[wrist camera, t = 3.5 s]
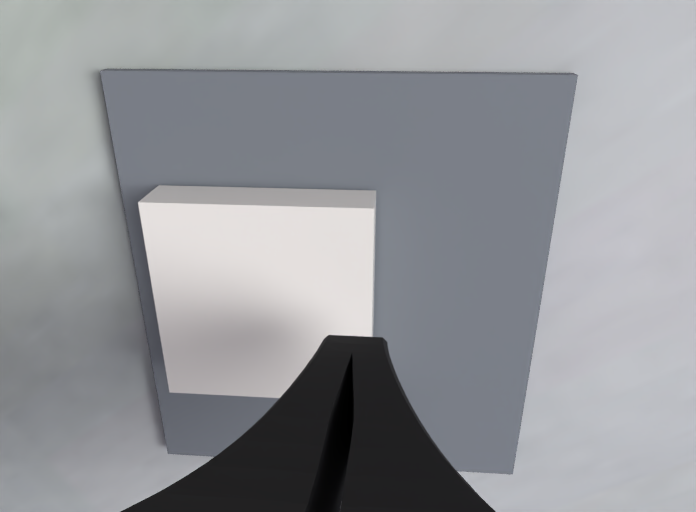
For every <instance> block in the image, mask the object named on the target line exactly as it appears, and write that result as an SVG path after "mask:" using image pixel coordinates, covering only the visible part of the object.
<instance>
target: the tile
mask: <svg viewBox="0 0 696 512" xmlns="http://www.w3.org/2000/svg"><path fill="white" fill-rule="evenodd" d="M138 206H139V212H140V218H141V224H142V230H143V236H144V242H145V248H146V254H147V260H148V266H149V272H150V278H151V284H152V290H153V296H154V302H155V308H156V314H157V320H158V326H159V332H160V338H161V344H162V350H163V356H164V362H165V368H166V374H167V380H168V386H169V392H170V393H190V394H209V395H228V396H248V397H267V398H280V397H281V396H282V395H283V394H284V393H285V392H286V390H287V389H288V388H289V387H290V386H291V384H292V383H293V382H294V381H295V379H296V378H297V377H298V376H299V374H300V373H301V372H302V371H303V369H304V368H305V367H306V365H307V364H308V362H309V361H310V360H311V358H312V357H313V355H314V354H315V352H316V351H317V349H318V348H319V346H320V345H321V343H322V341H323V339H324V338H326V337H327V336H328V335H343V336H365V337H373V323H374V275H375V227H376V191H374V190H334V189H293V188H252V187H211V186H170V185H159V186H157V187H156V188H155V189H154V190H152V191H151V192H150V193H149V194H147V195H146V196H145V197H144V198H143V199H141V200H140V201H139V202H138Z"/></svg>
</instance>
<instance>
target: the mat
mask: <svg viewBox="0 0 696 512" xmlns="http://www.w3.org/2000/svg"><path fill="white" fill-rule="evenodd" d="M100 74H101V80H102V85H103V91H104V96H105V102H106V108H107V113H108V119H109V125H110V130H111V136H112V142H113V147H114V153H115V158H116V164H117V170H118V175H119V181H120V187H121V192H122V198H123V203H124V209H125V215H126V220H127V226H128V232H129V237H130V243H131V249H132V254H133V260H134V265H135V271H136V277H137V282H138V288H139V294H140V299H141V305H142V311H143V316H144V322H145V327H146V333H147V339H148V344H149V350H150V356H151V361H152V367H153V373H154V378H155V384H156V389H157V395H158V401H159V406H160V412H161V418H162V423H163V429H164V435H165V440H166V446H167V451H168V454H181V455H197V456H214V457H215V456H217V455H218V454H219V453H221V452H222V451H223V450H224V449H226V448H227V447H228V446H229V445H231V444H232V443H233V442H234V441H236V440H237V439H238V438H239V437H240V436H242V435H243V434H244V433H245V432H246V431H247V430H248V429H249V428H251V427H252V426H253V425H254V424H255V423H256V422H257V421H258V420H259V419H260V418H261V417H262V416H263V415H264V414H265V413H266V412H267V411H268V410H269V409H270V408H271V407H272V406H273V405H274V404H275V402H276V401H277V400H278V399H279V398H267V397H248V396H228V395H209V394H190V393H170V392H169V386H168V380H167V374H166V368H165V362H164V356H163V350H162V344H161V338H160V332H159V326H158V320H157V314H156V308H155V302H154V296H153V290H152V284H151V278H150V272H149V266H148V260H147V254H146V248H145V242H144V236H143V230H142V224H141V218H140V212H139V206H138V202H139V201H140V200H141V199H143V198H144V197H145V196H146V195H147V194H149V193H150V192H151V191H152V190H154V189H155V188H156V187H157V186H159V185H170V186H211V187H252V188H293V189H334V190H374V191H376V227H375V275H374V323H373V337H383V338H384V339H385V340H386V341H387V345H388V350H389V354H390V358H391V361H392V364H393V367H394V369H395V372H396V374H397V377H398V379H399V381H400V383H401V386H402V388H403V390H404V392H405V394H406V396H407V398H408V400H409V402H410V404H411V406H412V407H413V409H414V411H415V413H416V414H417V416H418V418H419V420H420V421H421V423H422V424H423V426H424V428H425V429H426V431H427V432H428V434H429V435H430V437H431V438H432V440H433V441H434V442H435V444H436V445H437V447H438V448H439V449H440V451H441V452H442V453H443V455H444V456H445V457H446V458H447V460H448V461H449V462H450V464H451V465H452V466H453V467H454V469H455V470H456V471H465V472H482V473H499V474H513V469H514V463H515V457H516V451H517V445H518V439H519V433H520V426H521V420H522V414H523V408H524V402H525V396H526V390H527V383H528V377H529V371H530V365H531V359H532V353H533V347H534V341H535V334H536V328H537V322H538V316H539V310H540V304H541V298H542V291H543V285H544V279H545V273H546V267H547V261H548V255H549V248H550V242H551V236H552V230H553V224H554V218H555V212H556V206H557V199H558V193H559V187H560V181H561V175H562V169H563V163H564V156H565V150H566V144H567V138H568V132H569V126H570V120H571V113H572V107H573V101H574V95H575V89H576V83H577V77H578V75H576V74H574V73H507V72H399V71H291V70H183V69H105V70H101V71H100Z"/></svg>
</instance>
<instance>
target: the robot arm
mask: <svg viewBox="0 0 696 512" xmlns="http://www.w3.org/2000/svg"><path fill="white" fill-rule="evenodd" d="M340 507H341V508H340ZM121 512H495V511H494V510H493V509H492V508H491V507H490V506H489V505H488V504H487V503H486V502H485V501H484V500H483V499H482V498H481V497H480V496H479V495H478V494H477V493H476V492H475V491H474V489H473V488H472V487H471V486H470V485H469V484H468V483H467V482H466V481H465V480H464V478H463V477H462V476H461V475H460V474H459V473H458V472H457V471H456V470H455V469H454V467H453V466H452V465H451V464H450V462H449V461H448V460H447V458H446V457H445V456H444V455H443V453H442V452H441V451H440V449H439V448H438V447H437V445H436V444H435V442H434V441H433V440H432V438H431V437H430V435H429V434H428V432H427V431H426V429H425V428H424V426H423V424H422V423H421V421H420V420H419V418H418V416H417V414H416V413H415V411H414V409H413V407H412V406H411V404H410V402H409V400H408V398H407V396H406V394H405V392H404V390H403V388H402V386H401V383H400V381H399V379H398V377H397V374H396V372H395V369H394V367H393V364H392V361H391V358H390V354H389V350H388V345H387V341H386V340H385V339H384V338H383V337H365V336H343V335H328V336H327V337H326V338H324V339H323V341H322V343H321V345H320V346H319V348H318V349H317V351H316V352H315V354H314V355H313V357H312V358H311V360H310V361H309V362H308V364H307V365H306V367H305V368H304V369H303V371H302V372H301V373H300V374H299V376H298V377H297V378H296V379H295V381H294V382H293V383H292V384H291V386H290V387H289V388H288V389H287V390H286V392H285V393H284V394H283V395H282V396H281V397H280V398H279V399H278V400H277V401H276V402H275V404H274V405H273V406H272V407H271V408H270V409H269V410H268V411H267V412H266V413H265V414H264V415H263V416H262V417H261V418H260V419H259V420H258V421H257V422H256V423H255V424H254V425H253V426H252V427H251V428H249V429H248V430H247V431H246V432H245V433H244V434H243V435H242V436H240V437H239V438H238V439H237V440H236V441H234V442H233V443H232V444H231V445H229V446H228V447H227V448H226V449H224V450H223V451H222V452H221V453H219V454H218V455H217V456H215V457H214V458H213V459H211V460H210V461H209V462H207V463H206V464H204V465H203V466H201V467H200V468H198V469H197V470H195V471H193V472H192V473H190V474H189V475H187V476H186V477H184V478H182V479H181V480H179V481H177V482H176V483H174V484H172V485H171V486H169V487H167V488H165V489H164V490H162V491H160V492H158V493H156V494H154V495H152V496H151V497H149V498H147V499H145V500H143V501H141V502H139V503H137V504H135V505H133V506H131V507H129V508H127V509H125V510H123V511H121Z"/></svg>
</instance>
